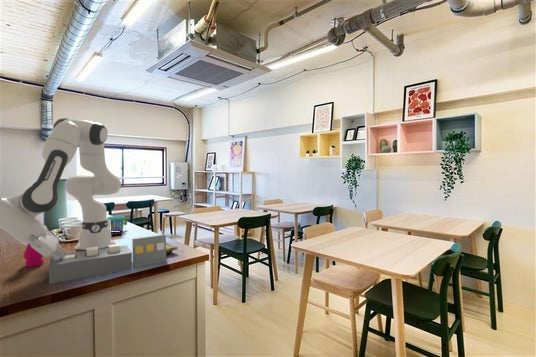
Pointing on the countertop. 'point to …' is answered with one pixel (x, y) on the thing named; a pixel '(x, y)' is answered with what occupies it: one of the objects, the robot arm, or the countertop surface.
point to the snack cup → (117, 222)
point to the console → (89, 264)
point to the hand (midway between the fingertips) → (64, 256)
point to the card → (149, 250)
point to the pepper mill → (32, 257)
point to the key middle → (92, 251)
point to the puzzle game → (170, 248)
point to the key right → (113, 248)
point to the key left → (69, 257)
